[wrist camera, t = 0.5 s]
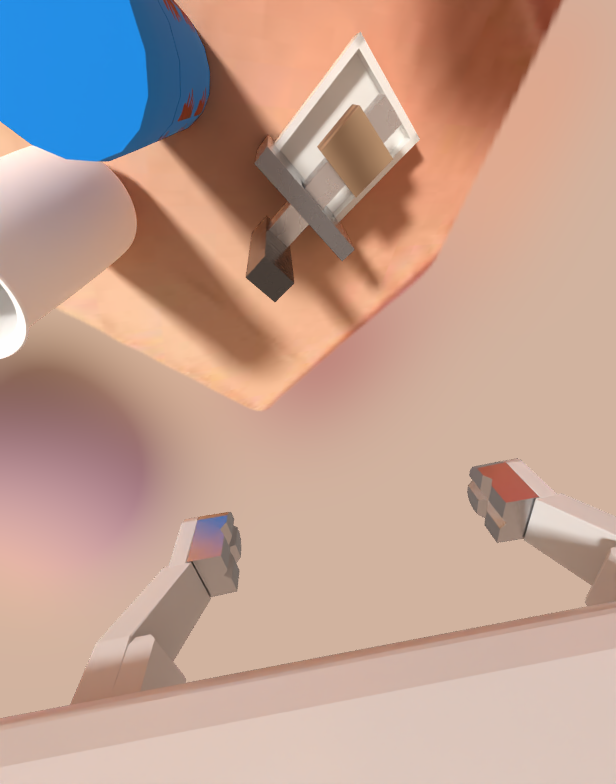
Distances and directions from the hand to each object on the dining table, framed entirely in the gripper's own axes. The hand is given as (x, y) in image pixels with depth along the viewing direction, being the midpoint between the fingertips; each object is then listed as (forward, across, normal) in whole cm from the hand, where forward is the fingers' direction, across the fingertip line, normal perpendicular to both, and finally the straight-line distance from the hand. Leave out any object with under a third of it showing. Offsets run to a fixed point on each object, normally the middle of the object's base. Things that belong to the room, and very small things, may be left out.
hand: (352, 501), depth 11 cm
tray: (+43, -10, -16) cm, 47 cm away
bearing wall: (+44, -4, -12) cm, 46 cm away
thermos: (+42, +10, -25) cm, 50 cm away
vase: (+45, +24, -15) cm, 53 cm away
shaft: (+39, -5, -12) cm, 41 cm away
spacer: (+36, -9, -14) cm, 40 cm away
